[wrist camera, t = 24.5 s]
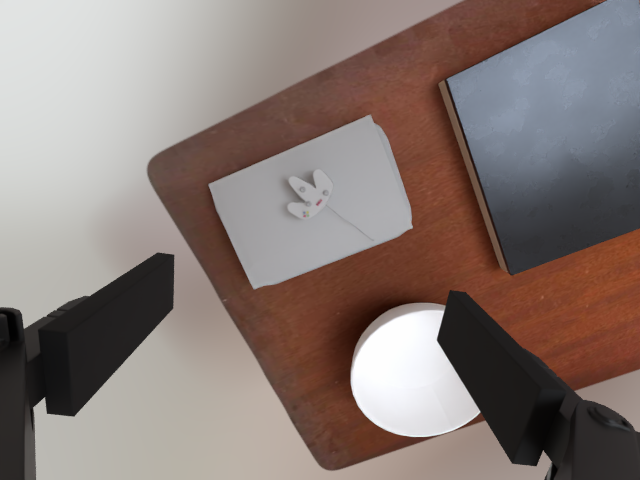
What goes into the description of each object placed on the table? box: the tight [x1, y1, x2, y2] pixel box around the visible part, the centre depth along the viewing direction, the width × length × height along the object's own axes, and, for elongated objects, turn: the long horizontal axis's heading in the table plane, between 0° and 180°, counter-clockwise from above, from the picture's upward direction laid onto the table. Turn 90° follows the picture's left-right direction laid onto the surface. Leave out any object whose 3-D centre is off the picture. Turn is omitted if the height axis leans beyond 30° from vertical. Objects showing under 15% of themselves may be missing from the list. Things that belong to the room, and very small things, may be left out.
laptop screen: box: [444, 0, 640, 275], centre depth 37 cm, size 19×25×1 cm
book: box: [208, 115, 413, 289], centre depth 39 cm, size 15×23×4 cm, turn 112°
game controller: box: [288, 169, 374, 241], centre depth 36 cm, size 6×12×3 cm, turn 70°
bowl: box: [351, 303, 480, 437], centre depth 43 cm, size 18×18×7 cm
